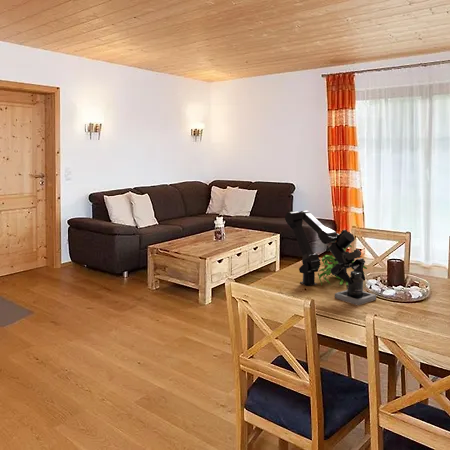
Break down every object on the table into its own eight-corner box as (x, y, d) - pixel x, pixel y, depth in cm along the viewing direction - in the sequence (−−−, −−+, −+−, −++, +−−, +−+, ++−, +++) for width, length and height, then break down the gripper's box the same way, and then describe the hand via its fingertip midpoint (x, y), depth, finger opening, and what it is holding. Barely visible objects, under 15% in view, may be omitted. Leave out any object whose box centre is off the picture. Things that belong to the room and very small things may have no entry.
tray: (334, 297, 207) (334, 293, 207) (352, 292, 215) (353, 288, 214) (357, 305, 197) (358, 300, 197) (376, 299, 204) (376, 294, 204)
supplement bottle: (357, 300, 201) (358, 274, 199) (344, 297, 206) (345, 272, 204) (365, 297, 206) (366, 272, 204) (352, 294, 211) (353, 269, 209)
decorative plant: (350, 282, 250) (368, 297, 220) (306, 273, 248) (318, 288, 219) (360, 236, 246) (381, 246, 217) (316, 228, 245) (330, 236, 215)
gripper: (336, 246, 199) (355, 276, 193) (362, 241, 210) (382, 269, 203) (322, 260, 207) (340, 289, 200) (348, 254, 218) (366, 281, 211)
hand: (358, 281), depth 203 cm, fingers open, 9 cm apart
